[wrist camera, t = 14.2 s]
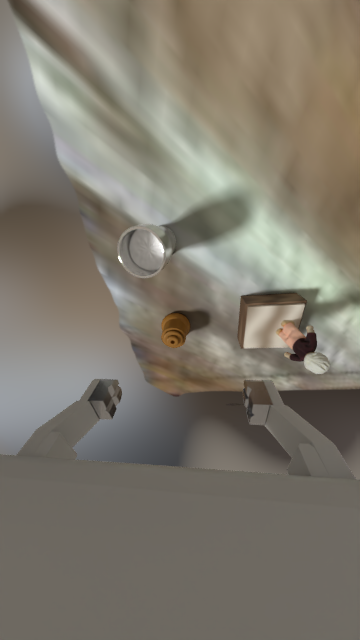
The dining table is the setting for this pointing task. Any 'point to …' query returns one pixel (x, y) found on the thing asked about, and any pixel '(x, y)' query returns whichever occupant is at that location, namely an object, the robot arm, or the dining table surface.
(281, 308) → the plinth
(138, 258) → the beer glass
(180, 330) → the ornamental finial
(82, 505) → the robot arm
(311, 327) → the grandmother figurine
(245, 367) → the dining table surface
